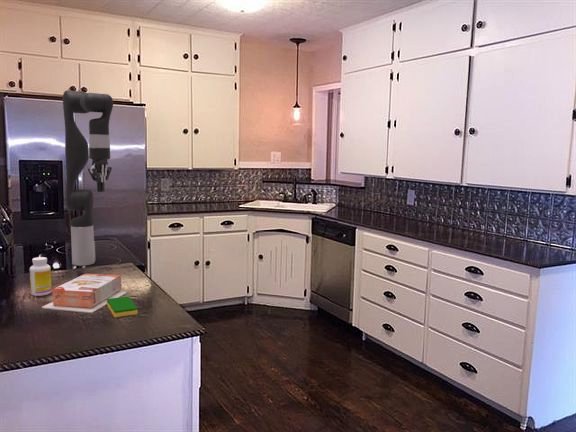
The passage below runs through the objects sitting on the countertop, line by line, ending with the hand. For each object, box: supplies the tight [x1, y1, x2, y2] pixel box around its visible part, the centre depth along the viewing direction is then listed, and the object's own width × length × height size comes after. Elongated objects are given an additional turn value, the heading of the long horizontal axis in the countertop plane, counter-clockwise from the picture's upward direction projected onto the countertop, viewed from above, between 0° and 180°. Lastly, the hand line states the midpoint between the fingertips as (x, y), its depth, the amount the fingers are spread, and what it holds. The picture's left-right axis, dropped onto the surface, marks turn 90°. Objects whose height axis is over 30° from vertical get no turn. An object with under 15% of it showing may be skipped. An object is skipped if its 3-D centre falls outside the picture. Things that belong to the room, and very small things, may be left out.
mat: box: [41, 290, 128, 314], centre depth 166 cm, size 22×18×1 cm
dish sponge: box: [106, 296, 139, 318], centre depth 158 cm, size 7×14×2 cm, turn 30°
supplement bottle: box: [29, 256, 53, 297], centre depth 171 cm, size 7×7×13 cm
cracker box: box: [51, 273, 122, 308], centre depth 167 cm, size 14×6×21 cm
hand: (100, 191), depth 187 cm, fingers closed
